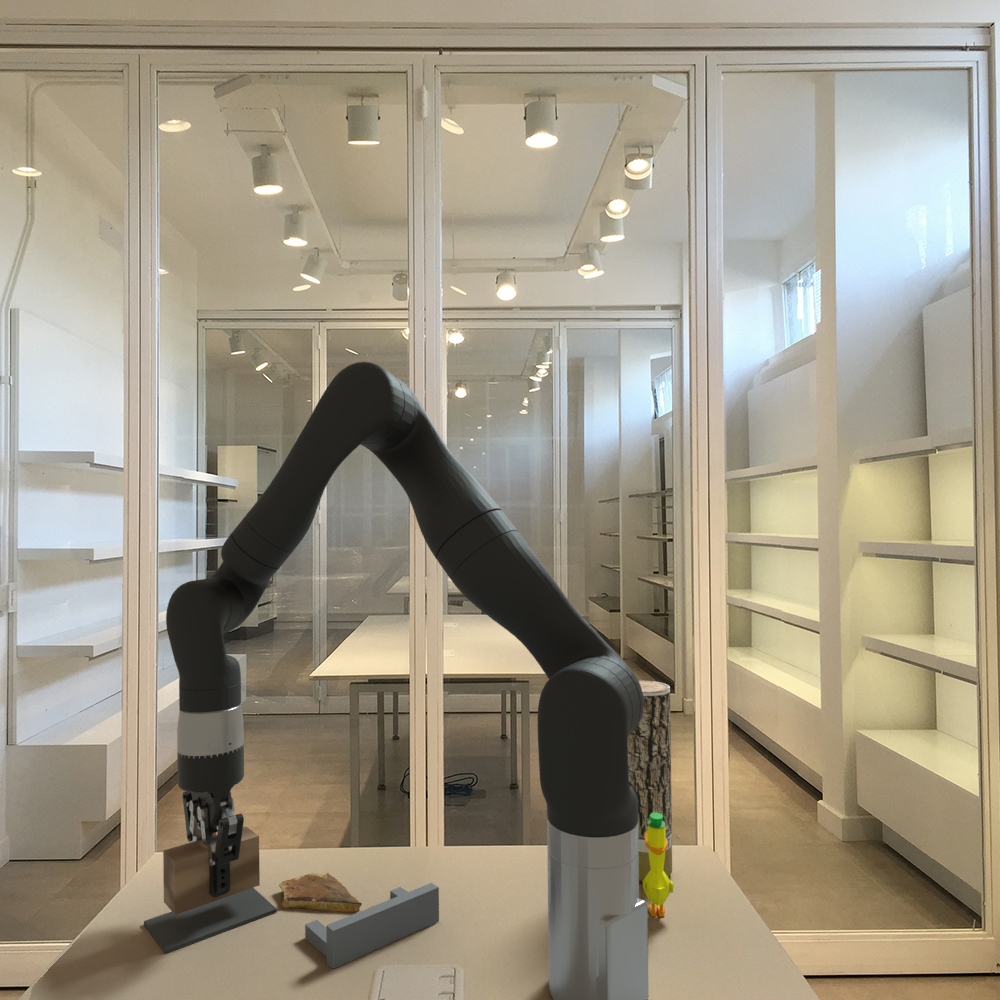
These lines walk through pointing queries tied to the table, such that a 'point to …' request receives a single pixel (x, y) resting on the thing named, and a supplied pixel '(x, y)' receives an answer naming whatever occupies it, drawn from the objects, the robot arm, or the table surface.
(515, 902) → the table surface
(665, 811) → the bark log stump
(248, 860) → the block
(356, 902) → the shard
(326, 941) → the dock
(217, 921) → the rest mat
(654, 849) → the toy figure
